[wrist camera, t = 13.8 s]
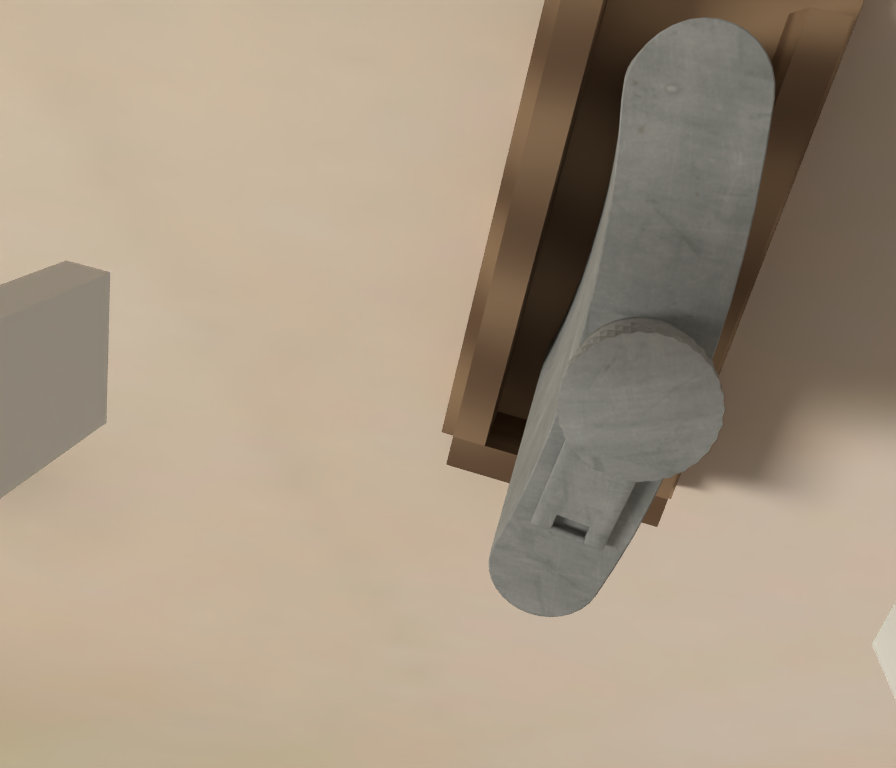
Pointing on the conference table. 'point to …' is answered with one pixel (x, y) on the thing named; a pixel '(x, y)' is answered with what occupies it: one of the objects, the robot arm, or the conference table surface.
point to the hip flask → (640, 317)
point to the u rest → (585, 187)
